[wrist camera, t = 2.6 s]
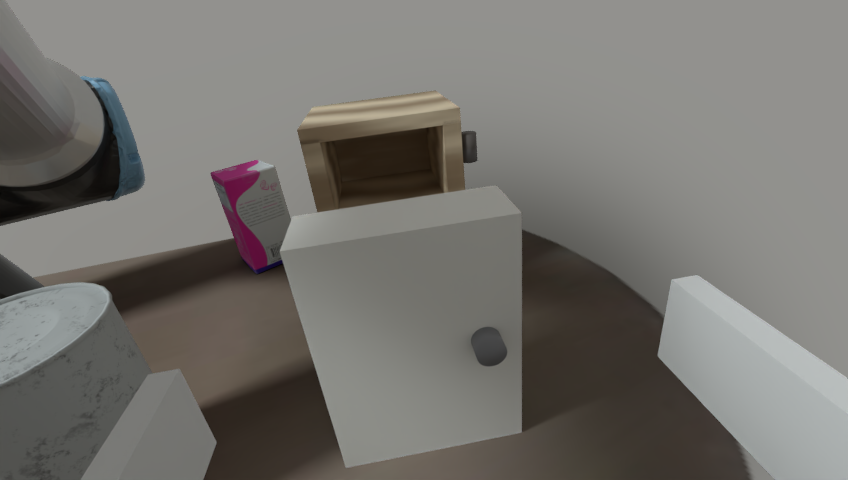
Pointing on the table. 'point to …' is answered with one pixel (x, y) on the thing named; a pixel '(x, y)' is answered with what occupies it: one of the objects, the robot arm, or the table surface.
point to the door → (413, 319)
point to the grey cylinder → (62, 379)
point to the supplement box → (254, 211)
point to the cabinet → (385, 150)
